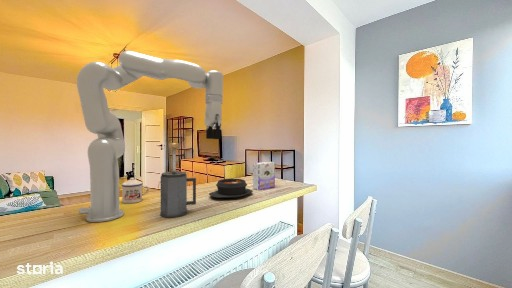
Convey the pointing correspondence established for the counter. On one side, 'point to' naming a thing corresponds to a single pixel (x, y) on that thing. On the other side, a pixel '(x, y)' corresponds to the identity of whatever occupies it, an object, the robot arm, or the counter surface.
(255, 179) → the candy box
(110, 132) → the robot arm
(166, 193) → the coffee press
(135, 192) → the teacup with lid
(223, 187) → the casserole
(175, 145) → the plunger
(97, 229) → the counter surface
